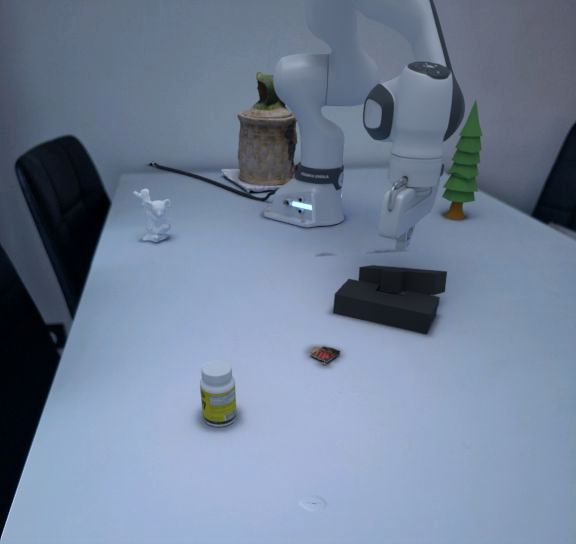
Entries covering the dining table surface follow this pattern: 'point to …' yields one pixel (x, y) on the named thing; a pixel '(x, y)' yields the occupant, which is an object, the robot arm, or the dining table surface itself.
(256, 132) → the cookie jar
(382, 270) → the black pad
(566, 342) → the dining table surface
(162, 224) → the koala figurine
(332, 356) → the matchbox
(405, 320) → the charcoal pad
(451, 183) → the decorative tree
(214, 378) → the supplement bottle
